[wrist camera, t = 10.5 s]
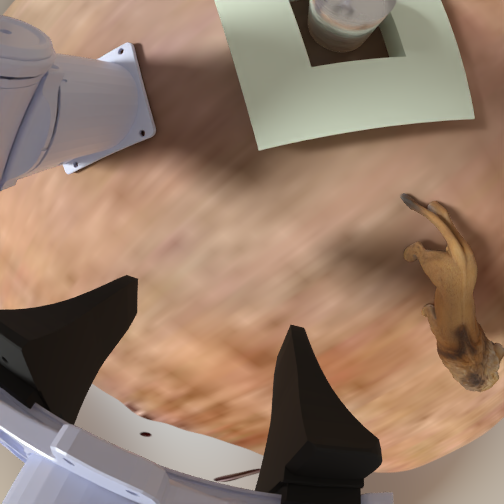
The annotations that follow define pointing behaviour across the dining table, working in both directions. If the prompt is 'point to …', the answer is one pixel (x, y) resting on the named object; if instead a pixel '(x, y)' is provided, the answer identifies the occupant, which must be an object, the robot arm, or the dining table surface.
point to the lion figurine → (455, 304)
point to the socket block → (344, 73)
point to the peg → (345, 21)
